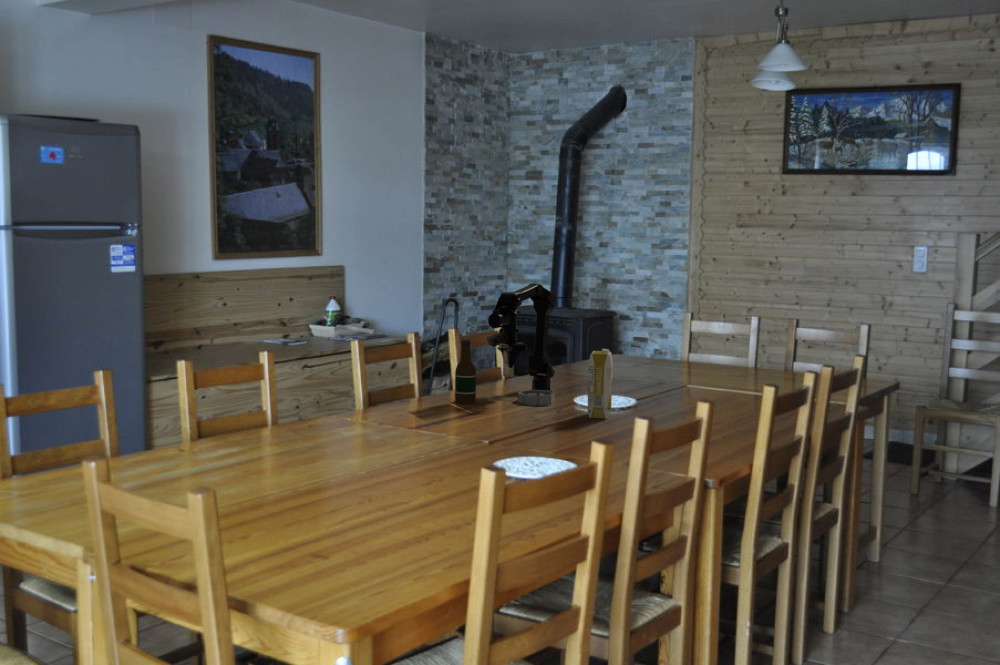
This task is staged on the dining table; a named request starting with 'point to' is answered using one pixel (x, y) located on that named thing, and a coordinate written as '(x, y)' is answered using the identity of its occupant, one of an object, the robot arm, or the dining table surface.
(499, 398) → the coaster
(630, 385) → the dining table surface
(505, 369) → the square wooden post
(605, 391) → the juice carton
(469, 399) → the beer bottle
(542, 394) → the bowl
